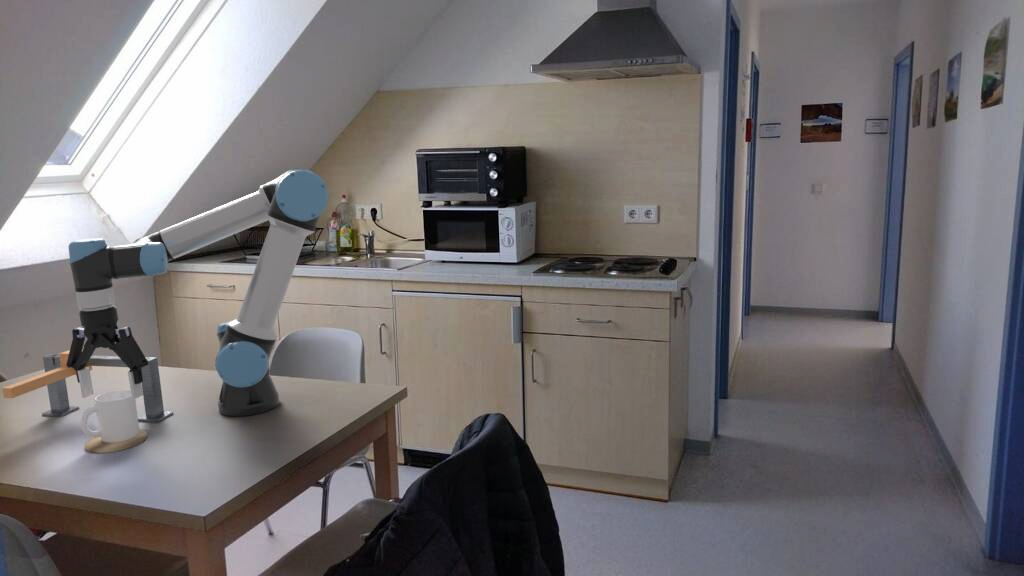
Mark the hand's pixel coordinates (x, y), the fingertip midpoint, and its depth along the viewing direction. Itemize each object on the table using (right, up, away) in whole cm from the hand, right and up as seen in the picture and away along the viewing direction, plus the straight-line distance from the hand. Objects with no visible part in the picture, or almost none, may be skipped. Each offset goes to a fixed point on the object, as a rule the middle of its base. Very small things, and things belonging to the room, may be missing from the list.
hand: (112, 396), depth 176 cm
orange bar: (-22, +2, +12) cm, 25 cm away
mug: (-1, -10, +2) cm, 11 cm away
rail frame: (-13, -8, +21) cm, 26 cm away
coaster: (0, -11, +2) cm, 11 cm away
